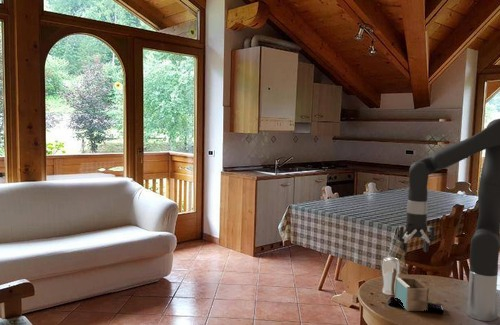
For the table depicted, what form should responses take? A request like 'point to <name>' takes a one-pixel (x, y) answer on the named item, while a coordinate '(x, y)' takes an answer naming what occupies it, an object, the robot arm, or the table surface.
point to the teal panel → (402, 291)
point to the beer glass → (390, 274)
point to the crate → (415, 295)
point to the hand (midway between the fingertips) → (415, 251)
